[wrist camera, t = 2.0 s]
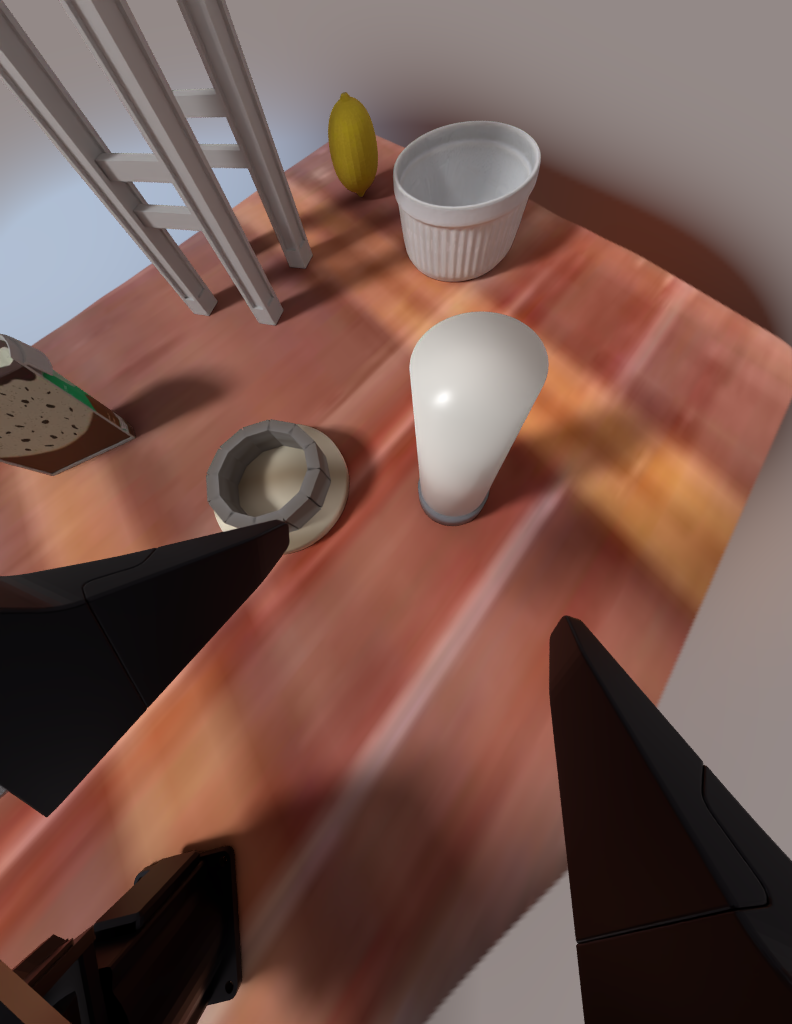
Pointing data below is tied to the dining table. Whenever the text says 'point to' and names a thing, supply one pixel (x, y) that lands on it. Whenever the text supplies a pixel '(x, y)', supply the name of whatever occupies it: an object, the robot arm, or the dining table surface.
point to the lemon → (352, 144)
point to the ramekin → (464, 196)
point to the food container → (50, 415)
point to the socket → (279, 481)
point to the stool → (166, 143)
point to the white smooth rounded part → (470, 406)
